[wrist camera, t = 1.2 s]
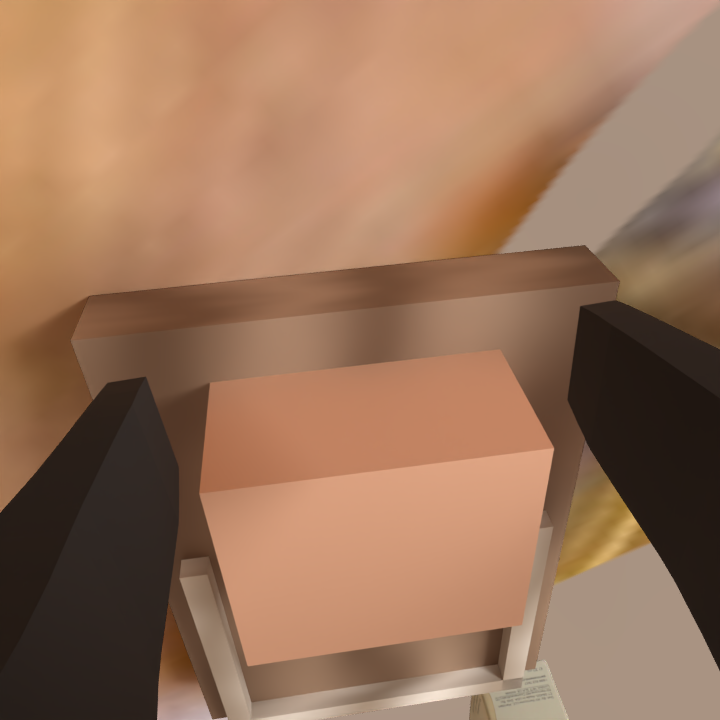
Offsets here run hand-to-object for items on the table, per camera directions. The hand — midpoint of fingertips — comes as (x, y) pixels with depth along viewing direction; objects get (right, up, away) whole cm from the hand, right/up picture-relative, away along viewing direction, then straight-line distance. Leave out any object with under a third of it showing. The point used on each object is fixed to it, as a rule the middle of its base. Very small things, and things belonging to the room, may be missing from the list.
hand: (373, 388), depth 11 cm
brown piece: (0, -6, +16) cm, 17 cm away
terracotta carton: (0, -3, +11) cm, 12 cm away
